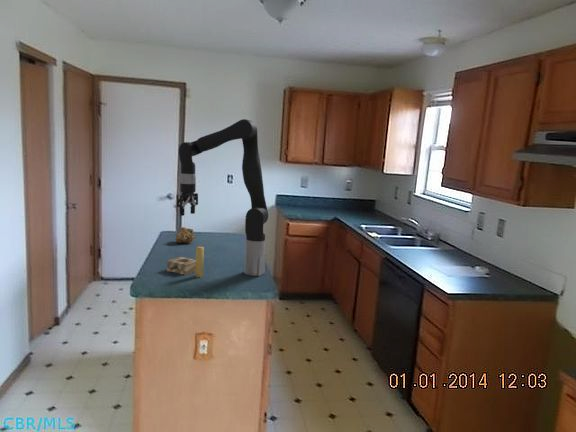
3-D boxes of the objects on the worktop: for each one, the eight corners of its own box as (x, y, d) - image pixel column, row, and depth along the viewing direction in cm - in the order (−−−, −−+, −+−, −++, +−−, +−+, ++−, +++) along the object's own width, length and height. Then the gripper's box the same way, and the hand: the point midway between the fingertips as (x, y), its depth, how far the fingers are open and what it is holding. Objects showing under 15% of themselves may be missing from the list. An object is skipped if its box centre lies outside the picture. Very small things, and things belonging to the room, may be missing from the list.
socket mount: (198, 270, 220) (198, 260, 219) (181, 276, 208) (181, 266, 207) (179, 266, 224) (180, 256, 223) (162, 272, 212) (162, 262, 211)
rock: (180, 240, 279) (180, 224, 277) (196, 242, 277) (196, 226, 276) (172, 244, 267) (173, 228, 265) (189, 246, 266) (189, 229, 264)
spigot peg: (204, 276, 211) (205, 247, 209) (199, 278, 208) (201, 248, 206) (197, 274, 213) (199, 246, 211) (193, 276, 210) (194, 247, 207)
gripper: (185, 184, 216) (184, 217, 218) (202, 182, 228) (201, 213, 231) (172, 182, 219) (172, 215, 221) (190, 181, 231) (190, 212, 234)
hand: (187, 214), depth 226 cm, fingers open, 8 cm apart
